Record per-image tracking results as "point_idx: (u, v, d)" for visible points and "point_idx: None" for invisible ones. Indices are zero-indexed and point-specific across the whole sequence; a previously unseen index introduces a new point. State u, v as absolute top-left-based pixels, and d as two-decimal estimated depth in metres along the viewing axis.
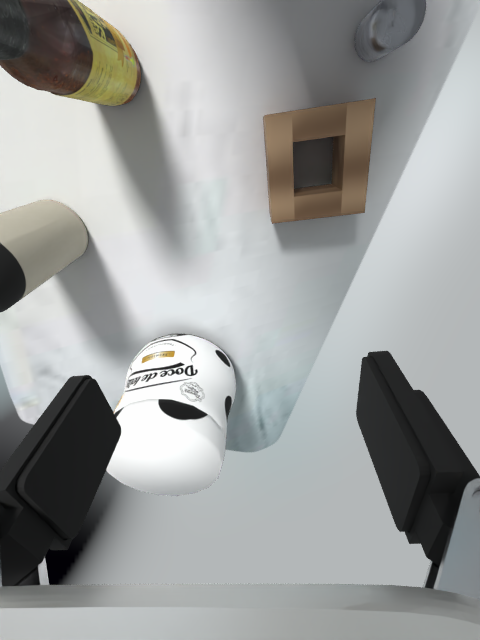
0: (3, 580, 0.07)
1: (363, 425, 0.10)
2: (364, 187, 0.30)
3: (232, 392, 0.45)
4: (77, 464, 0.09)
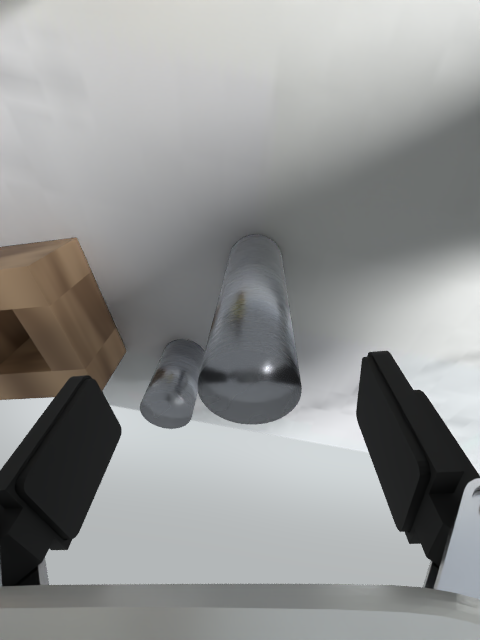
0: (3, 580, 0.07)
1: (363, 425, 0.10)
2: (6, 397, 0.22)
3: None
4: (77, 464, 0.09)
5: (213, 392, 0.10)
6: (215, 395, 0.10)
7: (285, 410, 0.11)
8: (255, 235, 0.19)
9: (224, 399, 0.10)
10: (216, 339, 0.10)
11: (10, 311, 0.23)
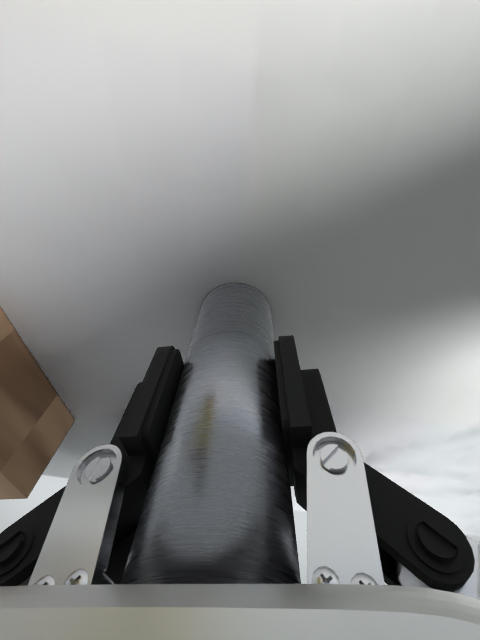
0: (118, 526, 0.08)
1: None
2: None
3: None
4: None
5: None
6: None
7: None
8: (234, 285, 0.14)
9: None
10: (135, 580, 0.05)
11: None
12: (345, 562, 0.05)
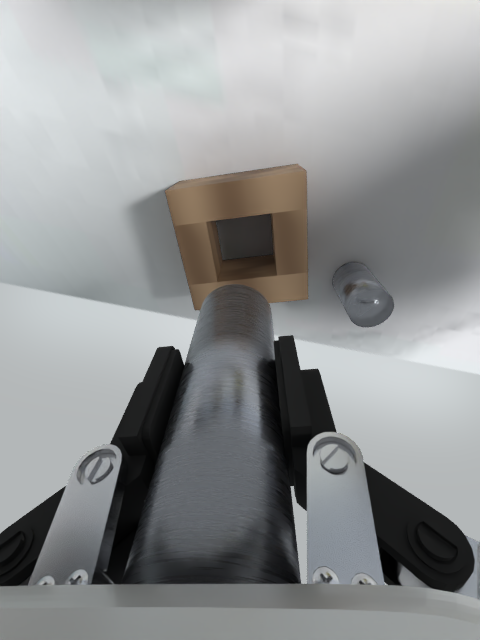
0: (118, 527, 0.08)
1: None
2: None
3: None
4: None
5: None
6: None
7: None
8: (234, 286, 0.14)
9: None
10: None
11: (217, 235, 0.27)
12: (345, 562, 0.05)
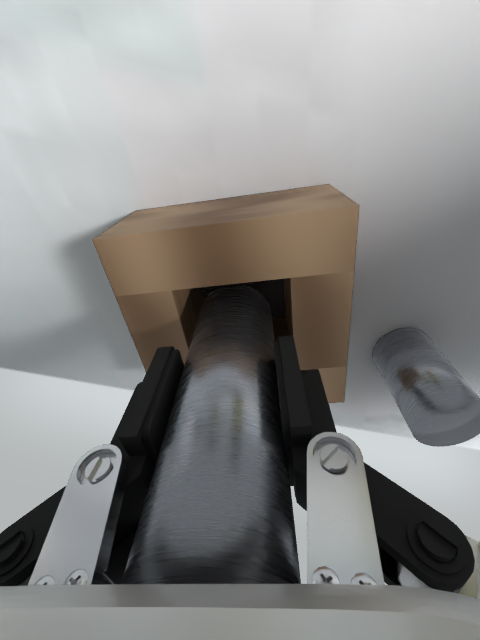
0: (118, 527, 0.08)
1: None
2: None
3: None
4: None
5: None
6: None
7: None
8: (234, 286, 0.14)
9: None
10: None
11: (199, 292, 0.17)
12: (345, 562, 0.05)
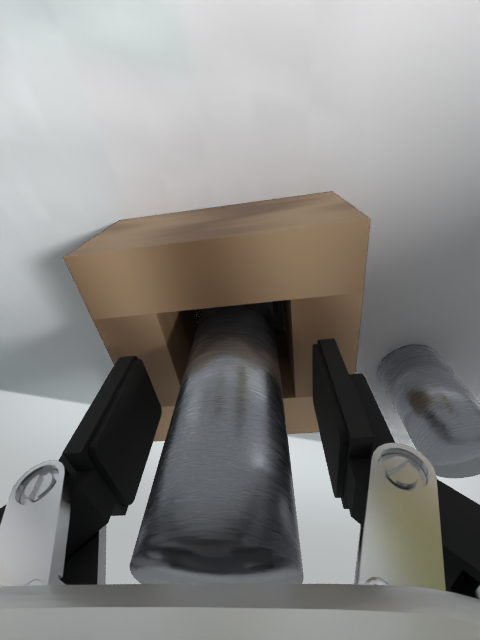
0: (69, 542, 0.07)
1: (316, 407, 0.11)
2: None
3: None
4: (131, 436, 0.09)
5: (158, 577, 0.06)
6: (162, 580, 0.06)
7: None
8: None
9: (177, 583, 0.06)
10: (163, 487, 0.06)
11: None
12: (403, 580, 0.05)
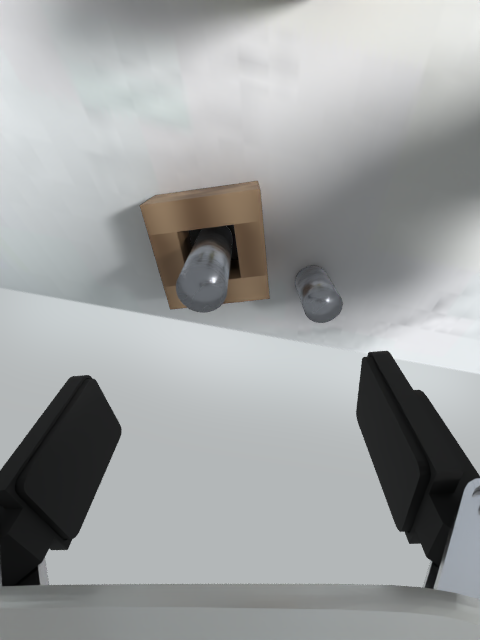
0: (3, 580, 0.07)
1: (363, 425, 0.10)
2: None
3: None
4: (77, 464, 0.09)
5: (183, 292, 0.21)
6: (185, 293, 0.21)
7: (220, 301, 0.21)
8: None
9: (189, 296, 0.21)
10: (185, 266, 0.21)
11: (190, 242, 0.30)
12: None
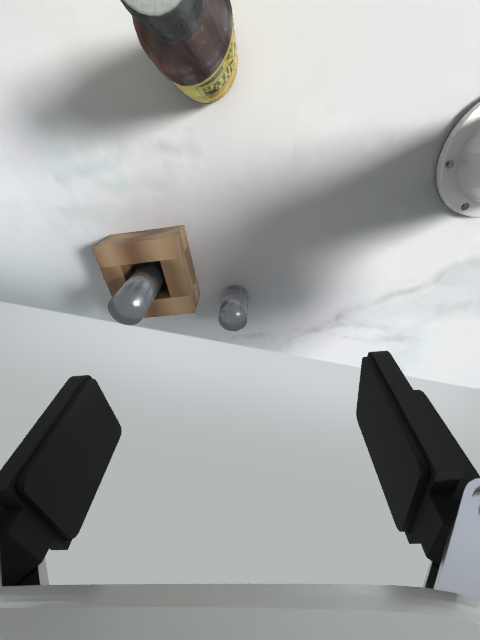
0: (3, 580, 0.07)
1: (363, 425, 0.10)
2: None
3: None
4: (77, 464, 0.09)
5: (114, 311, 0.30)
6: (115, 312, 0.30)
7: (140, 318, 0.31)
8: None
9: (118, 314, 0.31)
10: None
11: None
12: None
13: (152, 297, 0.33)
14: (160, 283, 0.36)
